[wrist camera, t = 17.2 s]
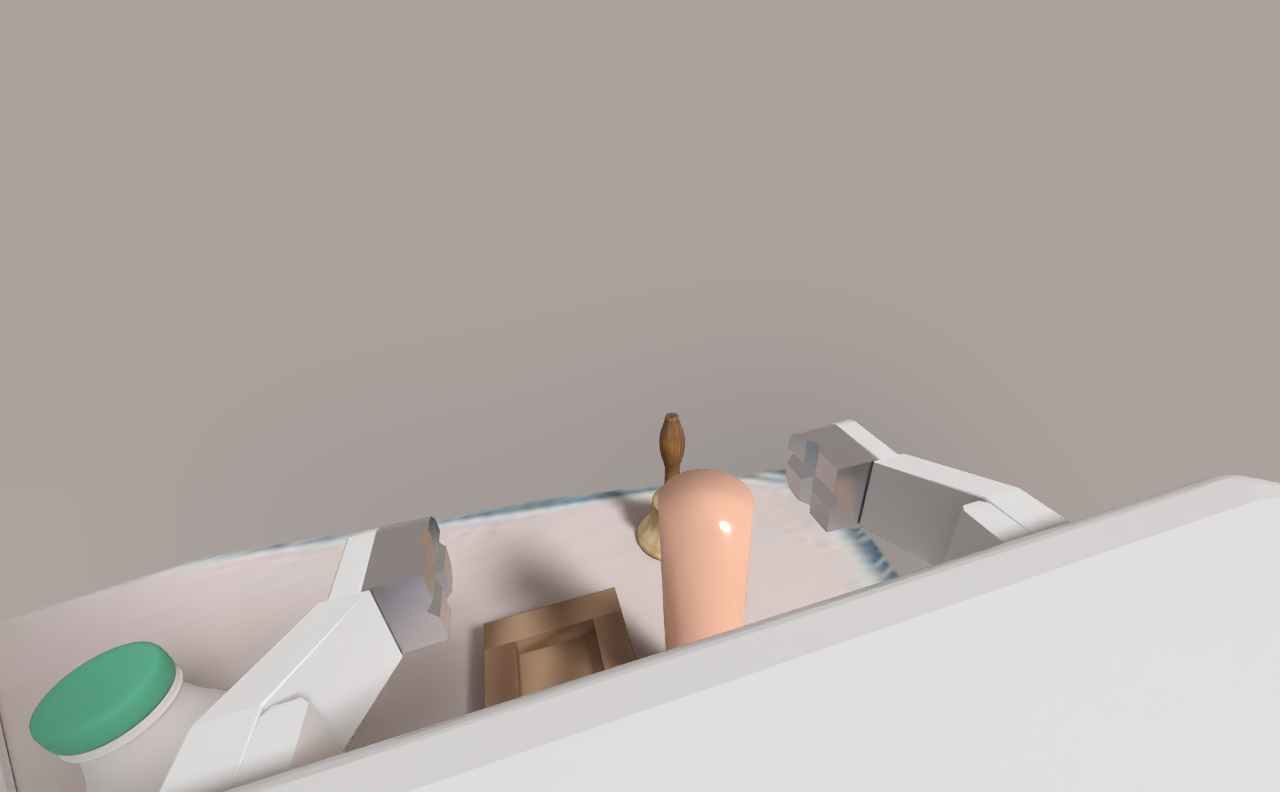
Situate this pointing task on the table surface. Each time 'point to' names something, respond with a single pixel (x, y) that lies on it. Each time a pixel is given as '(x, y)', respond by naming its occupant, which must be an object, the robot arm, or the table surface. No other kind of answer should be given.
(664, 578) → the tall peach cylinder
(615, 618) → the pocket block
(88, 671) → the milk bottle
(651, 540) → the hand bell
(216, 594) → the table surface
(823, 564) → the table surface
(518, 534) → the table surface
